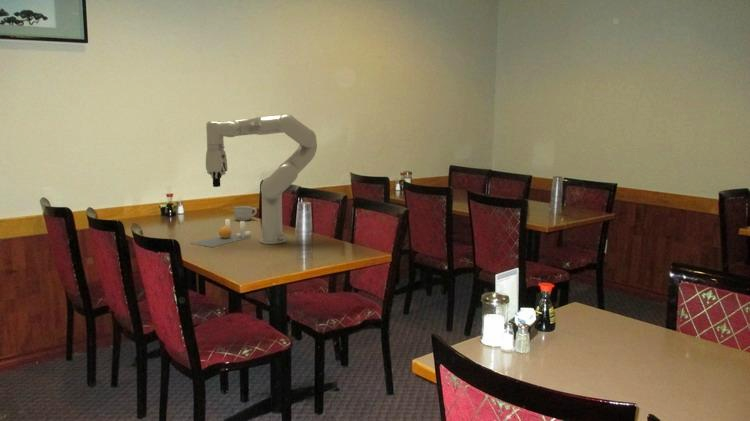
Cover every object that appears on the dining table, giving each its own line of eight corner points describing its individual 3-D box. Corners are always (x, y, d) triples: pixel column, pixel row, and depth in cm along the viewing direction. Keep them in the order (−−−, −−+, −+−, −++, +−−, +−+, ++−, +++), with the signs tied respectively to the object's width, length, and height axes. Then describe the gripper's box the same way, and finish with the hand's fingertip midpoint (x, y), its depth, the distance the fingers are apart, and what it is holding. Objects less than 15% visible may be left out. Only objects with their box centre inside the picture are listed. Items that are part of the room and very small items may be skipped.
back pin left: (246, 238, 293) (245, 221, 291) (242, 239, 291) (242, 222, 289) (242, 237, 294) (242, 220, 292) (239, 238, 292) (238, 221, 290)
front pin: (235, 235, 293) (246, 232, 300) (237, 239, 292) (249, 236, 300) (237, 232, 292) (249, 229, 299) (240, 236, 291) (251, 233, 299)
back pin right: (231, 235, 298) (231, 219, 296) (228, 236, 296) (227, 220, 294) (228, 235, 299) (227, 218, 297) (224, 236, 297) (224, 219, 295)
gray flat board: (250, 237, 294) (250, 237, 294) (212, 247, 272) (212, 246, 272) (230, 234, 301) (230, 234, 301) (190, 243, 279) (190, 243, 279)
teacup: (230, 220, 339) (229, 207, 338) (242, 217, 349) (242, 204, 347) (248, 223, 333) (248, 209, 331) (261, 220, 342) (260, 206, 341)
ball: (228, 223, 290) (224, 232, 286) (235, 230, 294) (231, 240, 290) (218, 224, 292) (215, 234, 288) (225, 232, 296) (221, 241, 292)
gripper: (232, 148, 274) (234, 187, 277) (209, 146, 282) (211, 184, 285) (221, 148, 268) (222, 188, 271) (198, 147, 275) (199, 186, 278)
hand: (216, 186), depth 278 cm, fingers closed
